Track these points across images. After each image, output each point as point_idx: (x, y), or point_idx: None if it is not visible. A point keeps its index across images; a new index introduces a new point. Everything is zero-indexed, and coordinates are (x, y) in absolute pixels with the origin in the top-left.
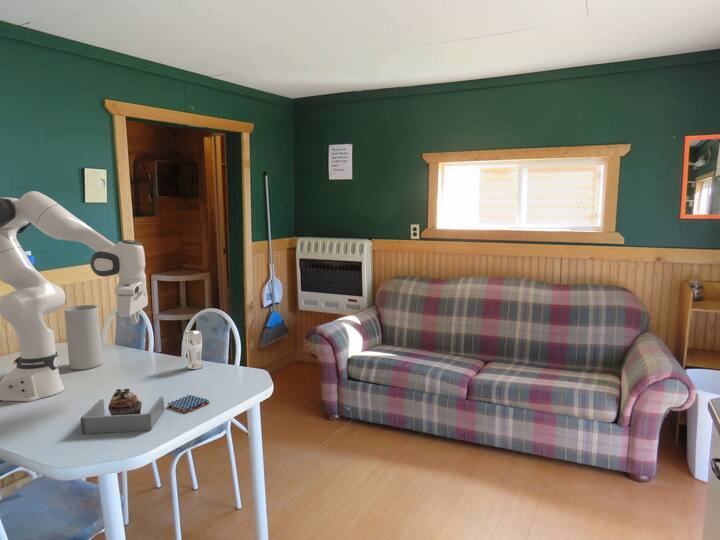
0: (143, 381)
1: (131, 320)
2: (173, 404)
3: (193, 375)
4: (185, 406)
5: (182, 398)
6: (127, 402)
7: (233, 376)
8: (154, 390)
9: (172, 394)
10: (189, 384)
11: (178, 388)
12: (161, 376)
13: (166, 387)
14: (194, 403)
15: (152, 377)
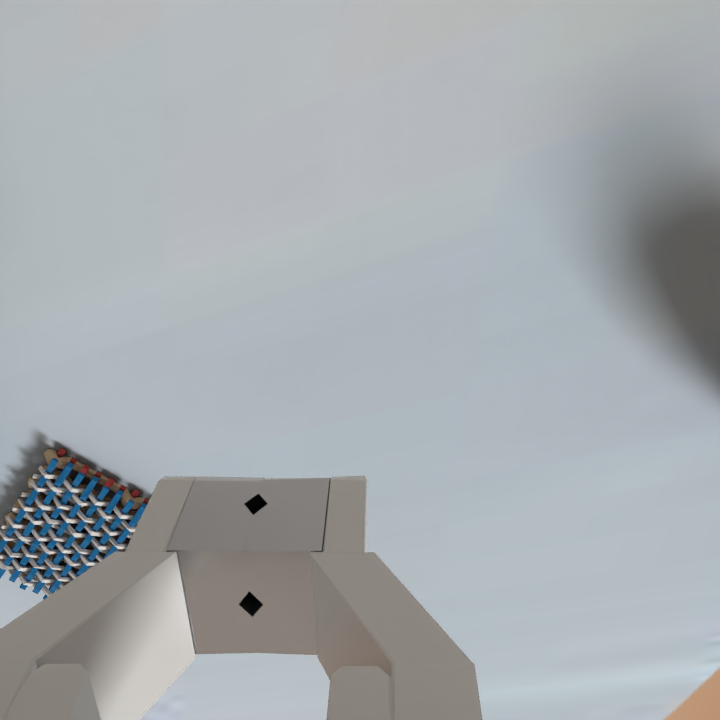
0: (568, 131)
1: (139, 553)
2: (42, 491)
3: (622, 454)
4: (13, 556)
5: (135, 514)
6: None
7: (542, 658)
8: (344, 286)
9: (262, 419)
10: (438, 470)
11: (369, 426)
12: (663, 240)
13: (398, 348)
14: (55, 588)
15: (657, 174)
